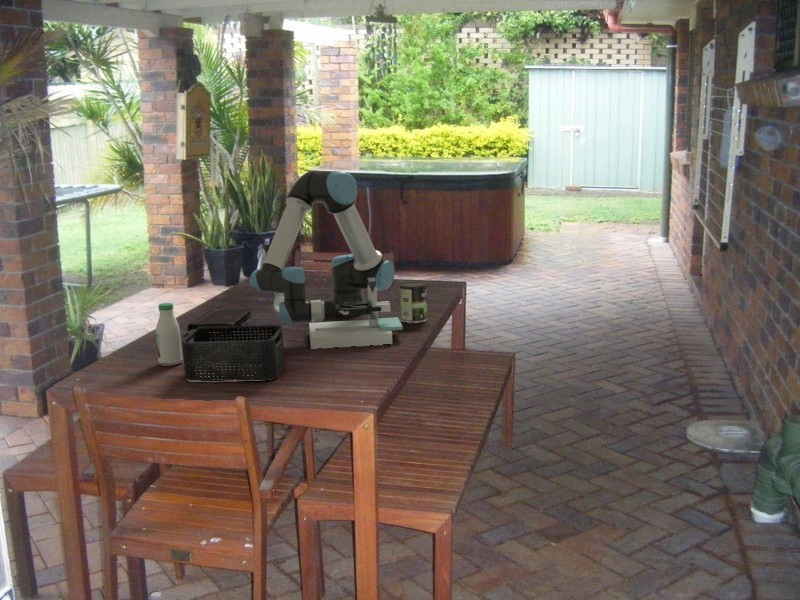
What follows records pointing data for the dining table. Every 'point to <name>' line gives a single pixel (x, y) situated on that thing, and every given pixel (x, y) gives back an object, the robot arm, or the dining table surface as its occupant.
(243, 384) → the dining table surface
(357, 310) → the robot arm
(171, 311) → the milk bottle
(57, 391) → the dining table surface
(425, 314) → the coffee can
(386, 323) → the cover
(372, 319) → the t key
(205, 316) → the diary
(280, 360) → the storage bin
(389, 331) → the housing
